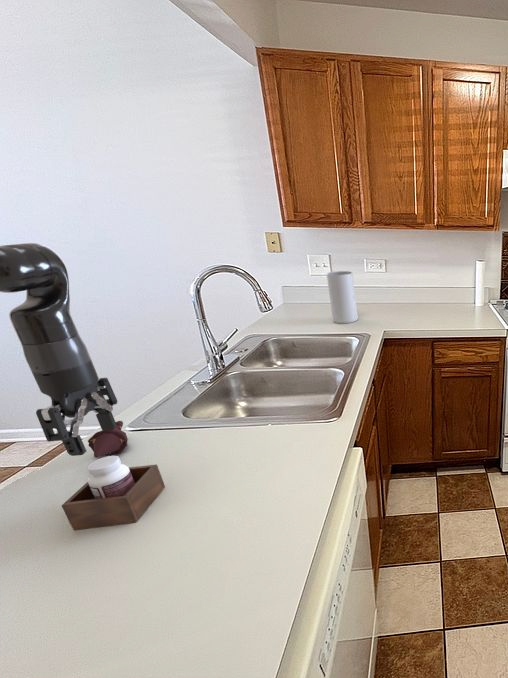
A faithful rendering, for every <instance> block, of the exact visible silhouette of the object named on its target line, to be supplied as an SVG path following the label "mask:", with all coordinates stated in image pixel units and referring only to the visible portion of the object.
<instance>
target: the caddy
mask: <svg viewBox="0 0 508 678" xmlns="http://www.w3.org/2000/svg"><path fill="white" fill-rule="evenodd" d="M128 468H129V470H130V472H131V474H132V477H133V479H134V482H135V485H134V486H133V487H132V488H131V489H130V490H129V491H128V492H127V493H126V495H125V496H118V497H109V498H101V499H95V497H94V495H93V493H92V491H91V488H90V486H89V484H88V481H86V483H84V484H83V485H82V486H81V487H79V489H78V490H77V491H76V492H74V493H73V494H72V495H71V496H70V497H68V499H67V500H65V502H63V503H62V504H61V508H62V511H63V512H64V514H65V516H66V518H67V520H68V522H69V524H70V526H71V528H72V531H79V530H87V529H95V528H103V527H109V526H110V527H111V526H119V525H126V524H127V525H128V524H134V523H138V521H139V520H140V519H141V518H142V517H143V515H144V514H145V513H146V511H147V510H148V509H149V508H150V506H151V505H152V504H153V503H154V501H155V500H156V499H157V498H158V497H159V495H160V494H161V493H162V491H163V490H164V489H165V488H166V485H165V482H164V480H163V476H162V474H161V472H160V468H159V466H158V464H148V465H140V466H130V467H129V466H128Z"/></svg>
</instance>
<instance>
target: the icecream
mask: <svg viewBox="0 0 508 678" xmlns="http://www.w3.org/2000/svg"><path fill="white" fill-rule="evenodd" d="M115 423H116V426H117V427H116V428H115V429H114V430H109V431H103V430H102V429H101V430H100V431H96V432H95V433H94V434H93V435H92V436H91V437H89V438H88V439H87V443H88V447H89V448H90V449H91V450H92V451H93V458H95V459H96V458H99V457H102V456H103V457H107V456H110V455H111V456H115V455H119V454H121V453H122V452H123V451H124V450H125V449H126V447H128V440H129V439H128V435H127V433H126V432H125V431H123V430H122V428H123V426H124V422H123V421H122V420H117V421H115ZM114 454H115V455H114Z"/></svg>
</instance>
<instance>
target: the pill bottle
mask: <svg viewBox="0 0 508 678" xmlns="http://www.w3.org/2000/svg"><path fill="white" fill-rule="evenodd" d="M128 467H129V466H128V465H126V464H124V463H122V461H121V458H120V456H118V455H111V456H103V457H101V458H98V459H96V460H94V461H92V462H90V463H89V464H88V465H87V471H88V474H89V475H90V476H89V477H88V479H87V482H88V484H89V486H90V488H91V491H92V493H93V495H94V497H95V499H101V498H109V497H118V496H125V495H126V493H127V492H128V491H129V490H130V489H131V488H132V487H133V486H134V485H135V482H134V479H133V477H132V474H131V472H130V470H129V468H128Z"/></svg>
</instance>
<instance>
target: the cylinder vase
mask: <svg viewBox="0 0 508 678" xmlns="http://www.w3.org/2000/svg"><path fill="white" fill-rule="evenodd" d="M326 280H327V288H328V293H329V301H330V307H331V314H332V321H333V322H334V323H336V324H351V323H354V322H357V321H358V319H359V317H358V308H357V300H356V291H355V282H354V274H353V271H348V270H340V271H330V272H327V273H326Z"/></svg>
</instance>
